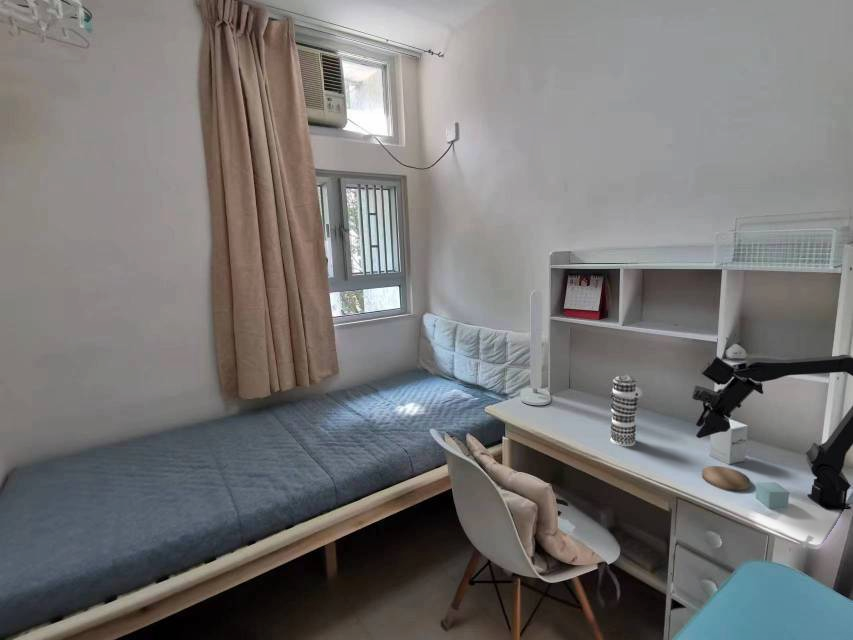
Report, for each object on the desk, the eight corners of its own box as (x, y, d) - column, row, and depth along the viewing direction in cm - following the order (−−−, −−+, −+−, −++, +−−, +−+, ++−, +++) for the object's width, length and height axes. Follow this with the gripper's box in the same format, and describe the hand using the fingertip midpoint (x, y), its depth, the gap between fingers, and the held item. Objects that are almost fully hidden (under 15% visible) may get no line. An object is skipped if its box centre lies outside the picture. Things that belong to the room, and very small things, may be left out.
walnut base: (733, 470, 135) (733, 465, 135) (759, 491, 124) (760, 486, 123) (694, 470, 136) (694, 466, 136) (716, 491, 124) (717, 486, 124)
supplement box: (729, 465, 139) (731, 428, 137) (708, 455, 146) (710, 420, 144) (746, 461, 141) (748, 425, 139) (724, 451, 148) (727, 417, 146)
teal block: (774, 498, 120) (775, 482, 119) (787, 508, 115) (789, 491, 114) (755, 498, 120) (756, 482, 120) (768, 508, 115) (769, 492, 115)
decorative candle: (617, 433, 165) (619, 372, 161) (641, 441, 158) (643, 377, 154) (604, 440, 160) (605, 377, 156) (628, 449, 153) (630, 382, 149)
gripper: (706, 369, 135) (673, 404, 142) (707, 386, 120) (671, 425, 126) (741, 391, 131) (706, 426, 138) (747, 411, 116) (707, 450, 122)
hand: (697, 431), depth 131 cm, fingers open, 9 cm apart
